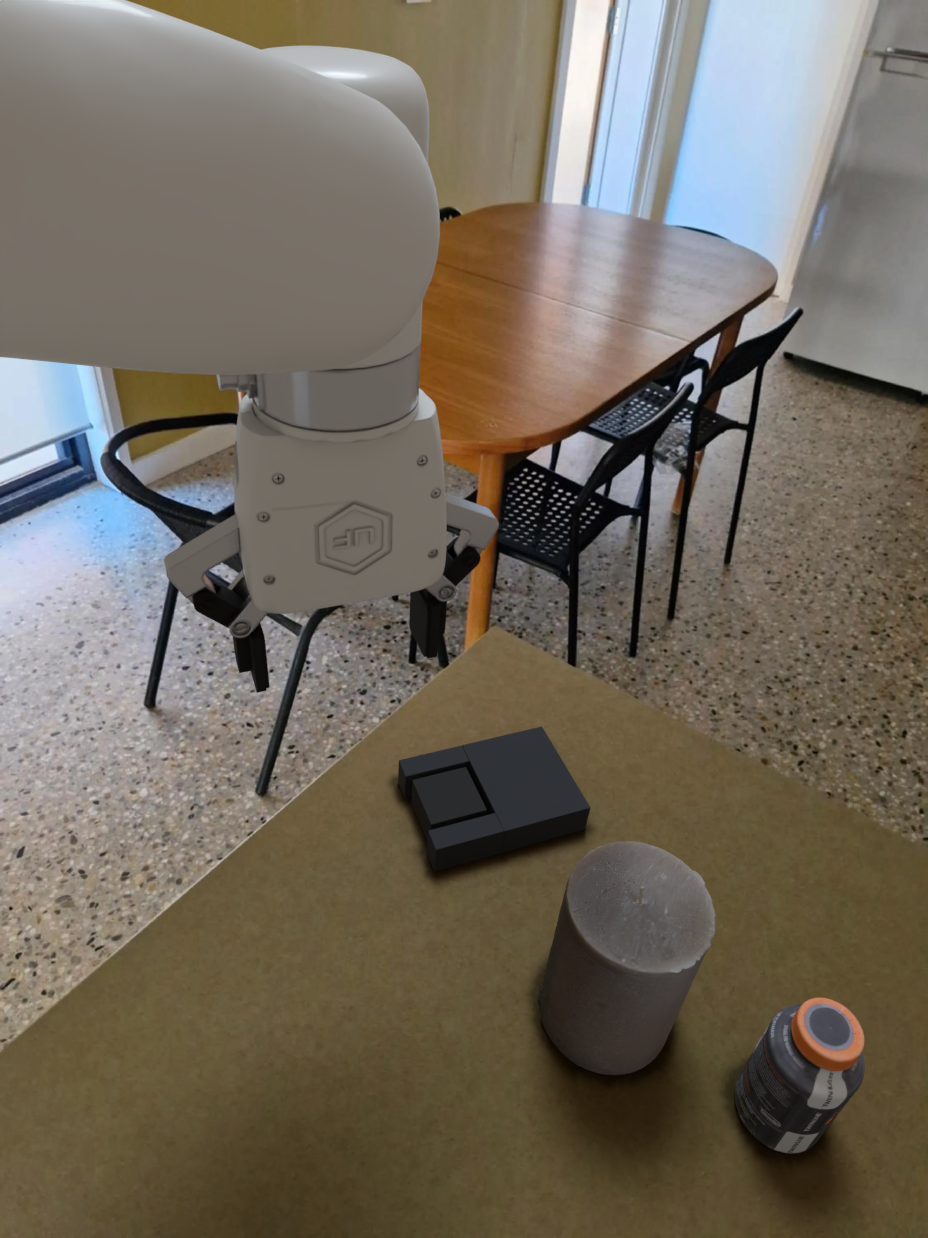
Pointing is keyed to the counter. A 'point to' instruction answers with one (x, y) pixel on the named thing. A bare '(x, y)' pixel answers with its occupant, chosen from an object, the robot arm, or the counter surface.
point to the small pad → (446, 799)
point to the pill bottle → (801, 1074)
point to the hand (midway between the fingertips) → (342, 658)
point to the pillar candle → (624, 955)
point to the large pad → (502, 796)
